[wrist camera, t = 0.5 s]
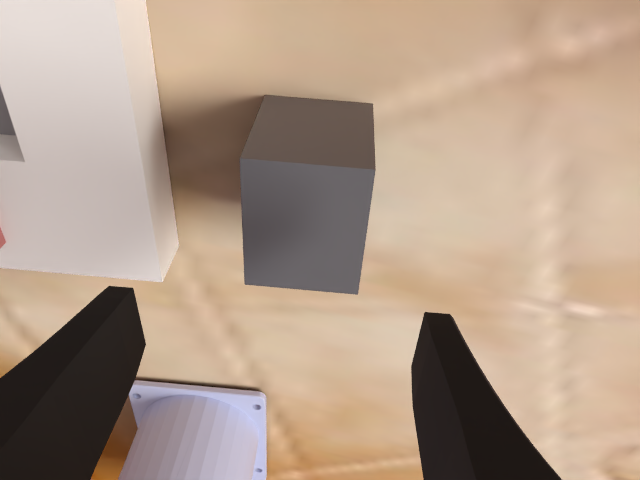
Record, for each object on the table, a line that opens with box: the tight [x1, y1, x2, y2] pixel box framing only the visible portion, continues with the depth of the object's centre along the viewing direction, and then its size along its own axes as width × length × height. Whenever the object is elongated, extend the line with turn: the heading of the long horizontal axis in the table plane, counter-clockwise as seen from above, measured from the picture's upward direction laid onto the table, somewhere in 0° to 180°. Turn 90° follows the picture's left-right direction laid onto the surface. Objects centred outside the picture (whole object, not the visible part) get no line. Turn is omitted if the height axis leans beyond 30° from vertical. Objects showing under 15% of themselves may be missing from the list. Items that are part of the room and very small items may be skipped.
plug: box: [240, 95, 375, 295], centre depth 19 cm, size 5×4×5 cm
